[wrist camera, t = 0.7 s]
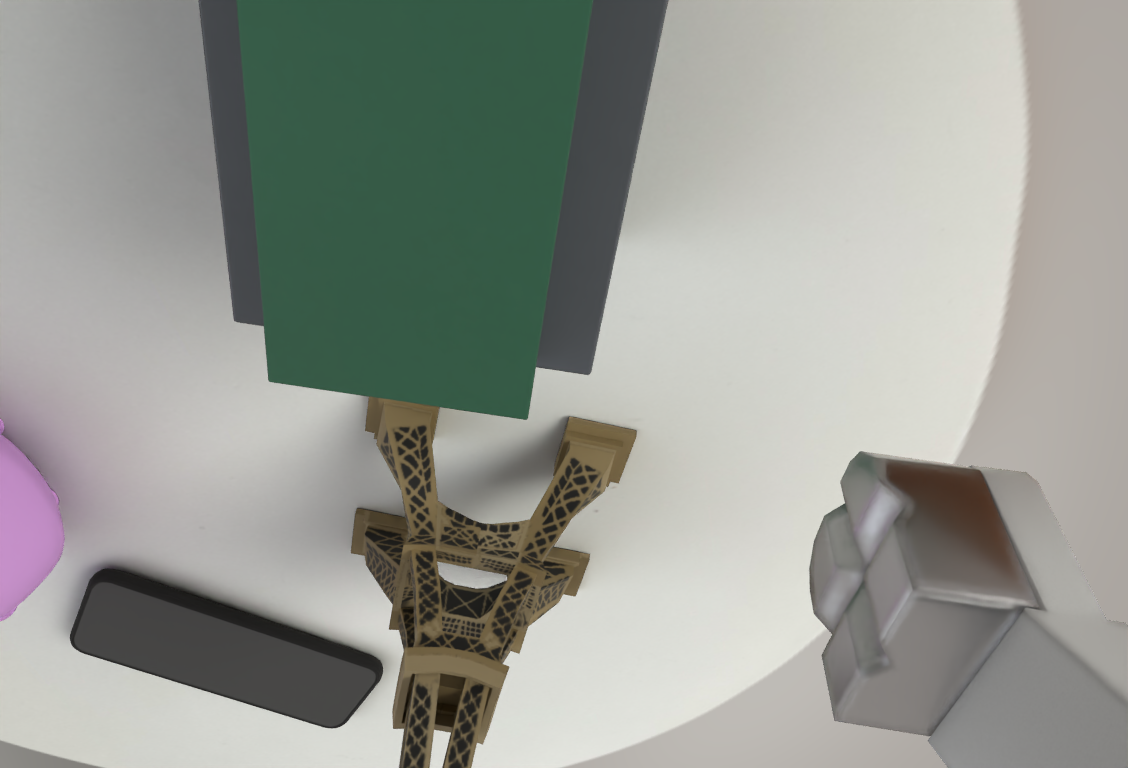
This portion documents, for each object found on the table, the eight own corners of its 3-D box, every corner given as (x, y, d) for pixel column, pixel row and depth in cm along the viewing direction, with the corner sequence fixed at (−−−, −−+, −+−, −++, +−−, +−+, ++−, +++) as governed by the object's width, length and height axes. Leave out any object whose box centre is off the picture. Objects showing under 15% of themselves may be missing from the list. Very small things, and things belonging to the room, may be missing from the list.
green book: (263, -261, 16) (214, -246, 14) (622, -197, 17) (620, -175, 15) (296, 323, 25) (268, 382, 23) (536, 360, 25) (527, 421, 23)
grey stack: (288, -326, 22) (161, -313, 16) (701, -252, 22) (723, -212, 16) (309, 197, 31) (233, 329, 25) (604, 243, 31) (596, 383, 25)
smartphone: (339, 734, 51) (63, 650, 47) (343, 719, 52) (71, 634, 47) (388, 672, 47) (90, 572, 42) (392, 656, 47) (99, 556, 43)
